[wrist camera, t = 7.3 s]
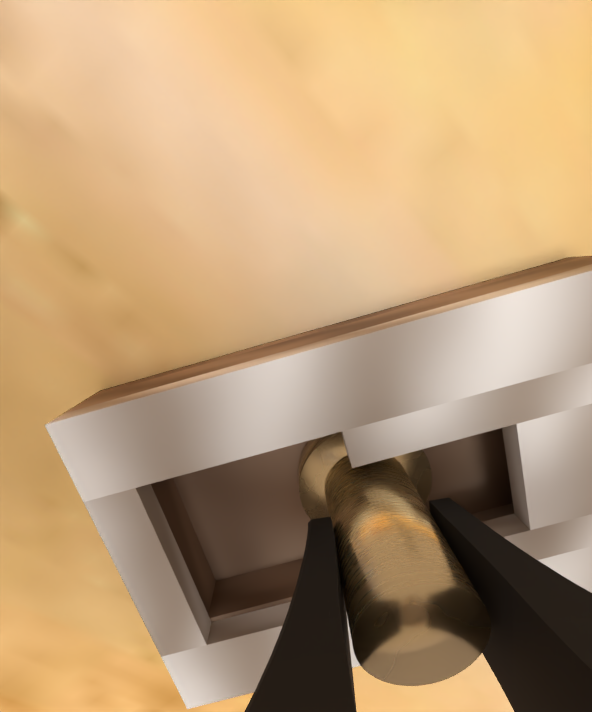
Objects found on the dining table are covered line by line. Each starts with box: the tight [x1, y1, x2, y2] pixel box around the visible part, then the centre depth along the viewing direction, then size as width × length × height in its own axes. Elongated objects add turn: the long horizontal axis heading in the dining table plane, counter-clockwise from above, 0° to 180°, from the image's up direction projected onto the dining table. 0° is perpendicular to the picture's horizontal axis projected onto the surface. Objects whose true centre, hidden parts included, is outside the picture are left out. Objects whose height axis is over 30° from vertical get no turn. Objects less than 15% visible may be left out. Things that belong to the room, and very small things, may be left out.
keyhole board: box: [45, 256, 592, 709], centre depth 12 cm, size 18×12×3 cm, turn 106°
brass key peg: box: [298, 432, 491, 686], centre depth 10 cm, size 5×5×6 cm
